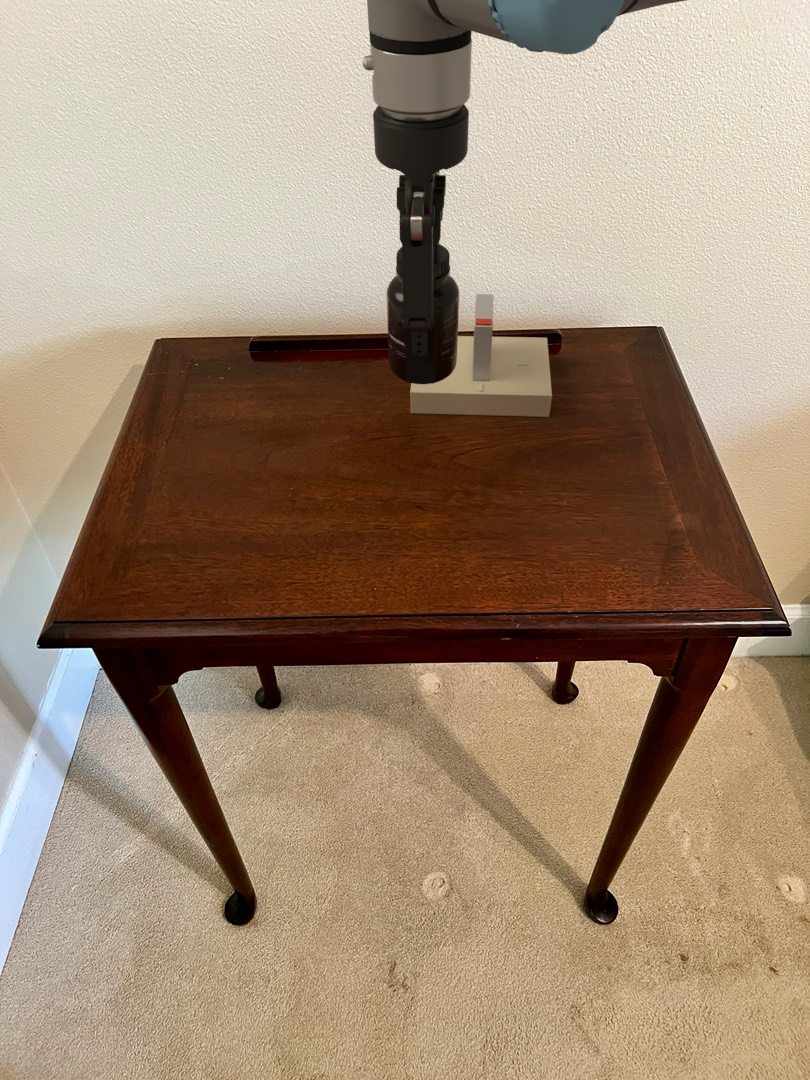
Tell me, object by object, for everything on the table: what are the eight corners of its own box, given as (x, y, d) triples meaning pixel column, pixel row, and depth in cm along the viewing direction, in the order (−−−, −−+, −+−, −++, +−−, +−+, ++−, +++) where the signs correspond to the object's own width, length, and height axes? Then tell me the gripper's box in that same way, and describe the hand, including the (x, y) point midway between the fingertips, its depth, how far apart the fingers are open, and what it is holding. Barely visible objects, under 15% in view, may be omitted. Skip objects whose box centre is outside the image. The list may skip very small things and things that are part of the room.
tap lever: (473, 346, 92) (475, 291, 87) (490, 347, 92) (493, 292, 87) (471, 380, 88) (474, 324, 82) (489, 380, 87) (492, 324, 82)
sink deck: (544, 358, 96) (547, 336, 93) (549, 417, 87) (552, 394, 85) (417, 355, 97) (417, 333, 95) (410, 413, 89) (410, 390, 86)
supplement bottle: (378, 378, 75) (371, 263, 67) (404, 343, 80) (400, 230, 71) (443, 392, 73) (445, 276, 65) (466, 355, 78) (470, 241, 69)
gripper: (385, 66, 66) (394, 306, 83) (357, 153, 53) (375, 419, 69) (471, 66, 66) (463, 307, 82) (465, 153, 52) (457, 421, 69)
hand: (423, 358), depth 76 cm, fingers closed on supplement bottle, 7 cm apart
